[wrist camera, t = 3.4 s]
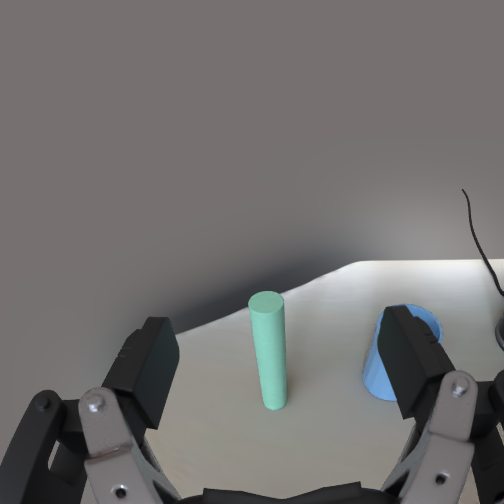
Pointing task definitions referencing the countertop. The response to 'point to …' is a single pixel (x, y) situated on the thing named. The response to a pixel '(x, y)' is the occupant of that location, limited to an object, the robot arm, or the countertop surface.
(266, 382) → the mint green tapered cylinder
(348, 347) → the countertop surface
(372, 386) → the cup
